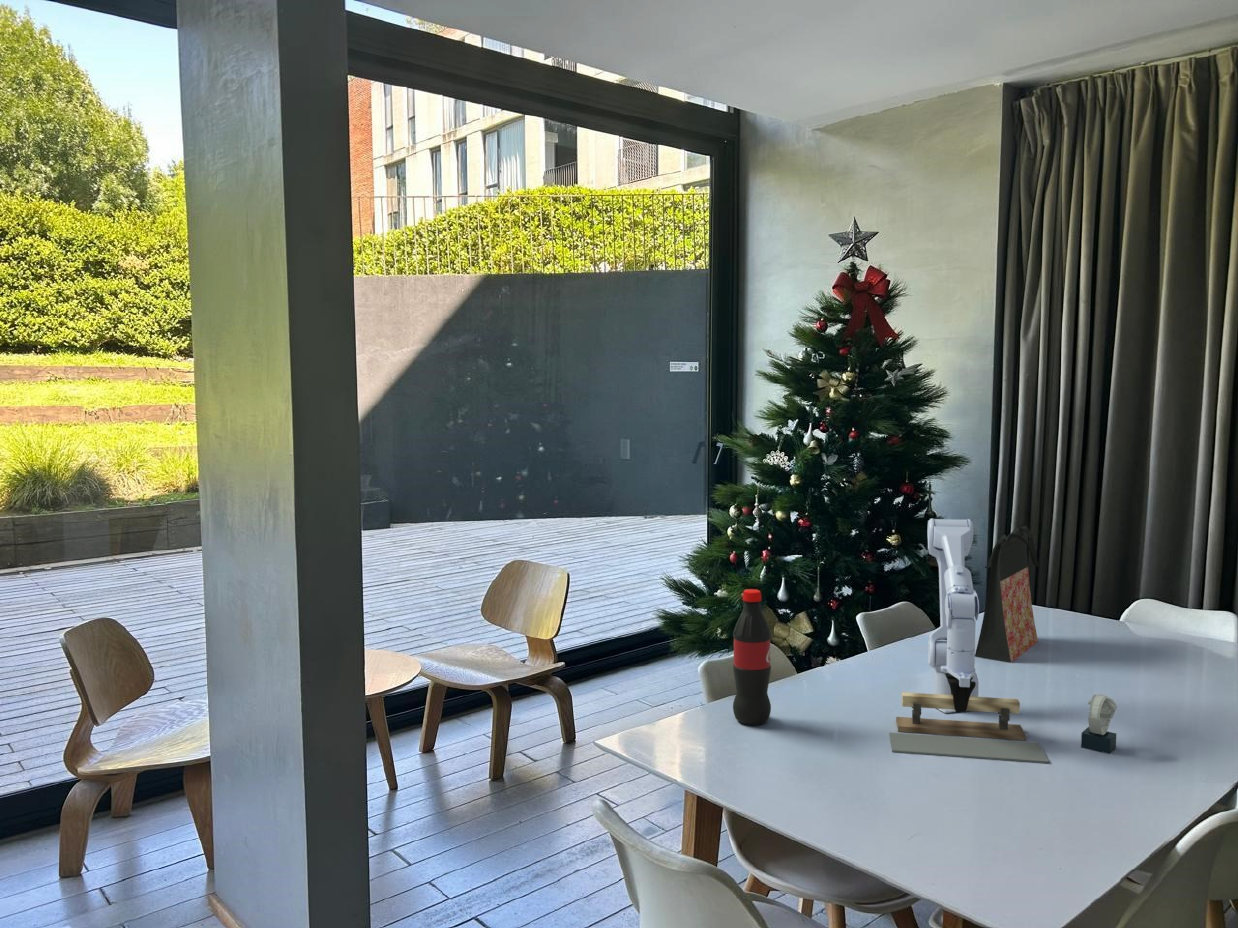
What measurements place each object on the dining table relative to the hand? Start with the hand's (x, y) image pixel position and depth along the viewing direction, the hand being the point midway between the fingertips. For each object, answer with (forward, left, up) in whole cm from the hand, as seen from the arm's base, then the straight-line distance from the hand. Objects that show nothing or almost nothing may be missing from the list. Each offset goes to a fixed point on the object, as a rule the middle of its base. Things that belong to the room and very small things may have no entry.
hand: (959, 709), depth 205 cm
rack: (0, 0, -5) cm, 5 cm away
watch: (-22, +16, -5) cm, 28 cm away
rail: (0, 0, 0) cm, 0 cm away
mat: (+5, +9, -5) cm, 11 cm away
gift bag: (-52, -52, -5) cm, 74 cm away
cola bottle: (+41, -18, -5) cm, 45 cm away
